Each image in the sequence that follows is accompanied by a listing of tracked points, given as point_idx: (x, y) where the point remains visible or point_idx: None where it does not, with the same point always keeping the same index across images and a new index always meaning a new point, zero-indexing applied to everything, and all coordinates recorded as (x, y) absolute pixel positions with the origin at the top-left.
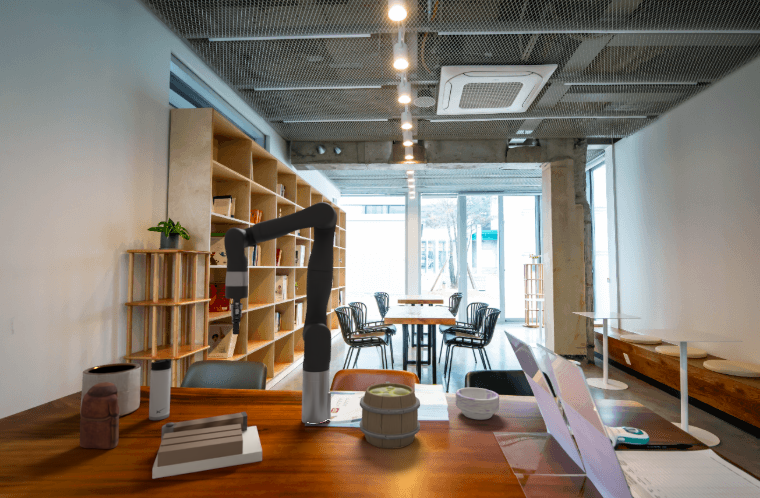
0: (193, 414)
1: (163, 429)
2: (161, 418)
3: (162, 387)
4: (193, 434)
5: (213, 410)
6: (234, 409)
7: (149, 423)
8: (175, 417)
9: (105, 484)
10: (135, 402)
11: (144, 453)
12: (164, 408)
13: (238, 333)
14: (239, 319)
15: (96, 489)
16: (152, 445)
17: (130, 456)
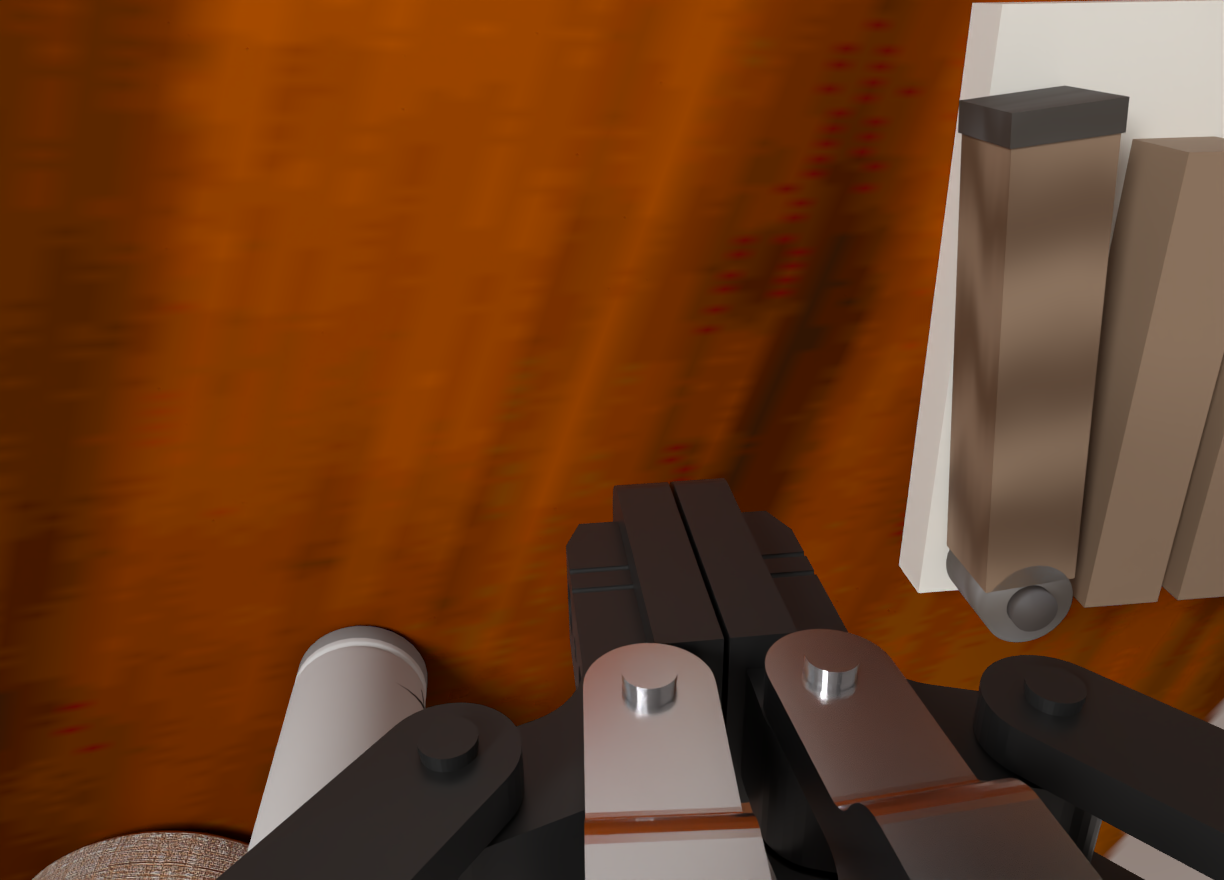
0: (361, 478)
1: (1050, 624)
2: (420, 658)
3: None
4: (1195, 452)
5: (296, 342)
6: (311, 167)
7: (471, 701)
8: (396, 582)
9: (1183, 691)
10: (202, 875)
11: (938, 627)
12: (406, 688)
13: (720, 493)
14: (1198, 748)
15: (1207, 708)
16: (847, 615)
17: (942, 676)
